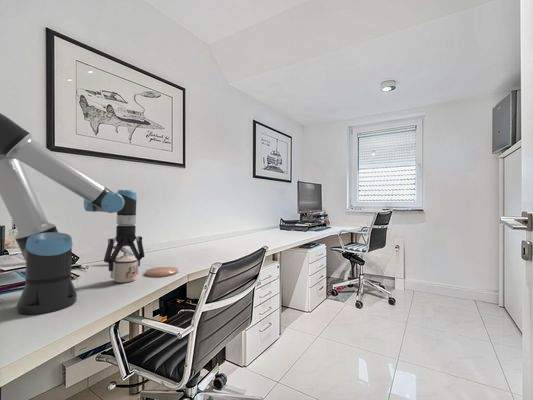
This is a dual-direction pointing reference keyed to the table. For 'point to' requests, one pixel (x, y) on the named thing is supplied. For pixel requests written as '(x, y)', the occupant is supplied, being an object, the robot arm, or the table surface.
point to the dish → (161, 272)
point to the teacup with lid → (125, 268)
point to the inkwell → (125, 251)
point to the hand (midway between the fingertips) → (124, 276)
